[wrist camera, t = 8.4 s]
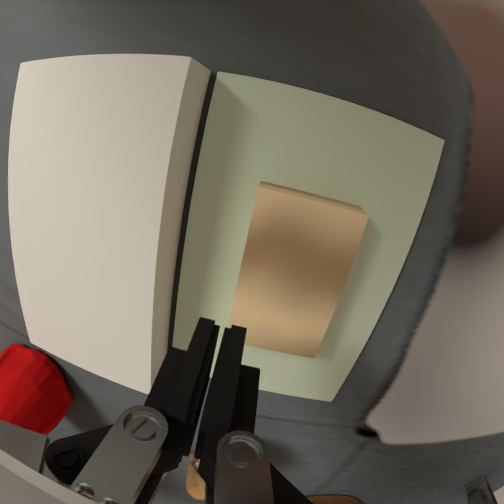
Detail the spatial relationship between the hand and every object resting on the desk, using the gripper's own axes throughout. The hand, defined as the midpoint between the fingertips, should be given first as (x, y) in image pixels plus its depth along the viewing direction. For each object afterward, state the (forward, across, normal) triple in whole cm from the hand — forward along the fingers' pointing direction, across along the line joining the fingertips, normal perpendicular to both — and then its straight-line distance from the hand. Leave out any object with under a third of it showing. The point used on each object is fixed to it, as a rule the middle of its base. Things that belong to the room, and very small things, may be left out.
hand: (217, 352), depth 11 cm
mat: (+10, -3, +1) cm, 10 cm away
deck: (+10, +10, +1) cm, 14 cm away
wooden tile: (+7, -3, +1) cm, 8 cm away
